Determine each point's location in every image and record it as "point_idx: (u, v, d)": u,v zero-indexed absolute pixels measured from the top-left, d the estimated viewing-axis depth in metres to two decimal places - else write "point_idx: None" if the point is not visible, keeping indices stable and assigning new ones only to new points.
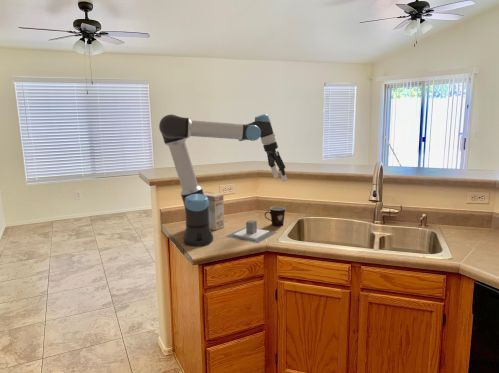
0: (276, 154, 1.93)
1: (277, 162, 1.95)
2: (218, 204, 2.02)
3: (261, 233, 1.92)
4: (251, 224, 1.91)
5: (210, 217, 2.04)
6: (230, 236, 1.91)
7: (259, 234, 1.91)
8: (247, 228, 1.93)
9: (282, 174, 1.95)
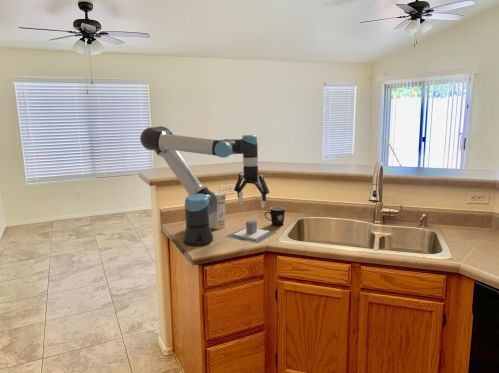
0: (262, 178, 1.84)
1: (259, 186, 1.86)
2: (220, 203, 2.03)
3: (261, 233, 1.92)
4: (251, 224, 1.91)
5: (211, 216, 2.04)
6: (230, 236, 1.91)
7: (259, 234, 1.91)
8: (247, 228, 1.93)
9: (263, 199, 1.86)
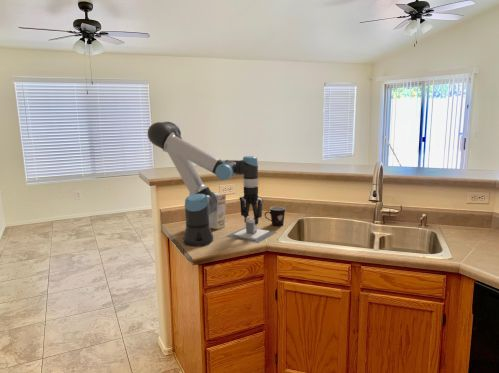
0: (260, 202, 1.87)
1: (255, 209, 1.89)
2: (220, 203, 2.03)
3: (261, 233, 1.92)
4: (251, 224, 1.91)
5: (211, 216, 2.04)
6: (230, 236, 1.91)
7: (259, 234, 1.91)
8: (247, 228, 1.93)
9: (255, 223, 1.91)
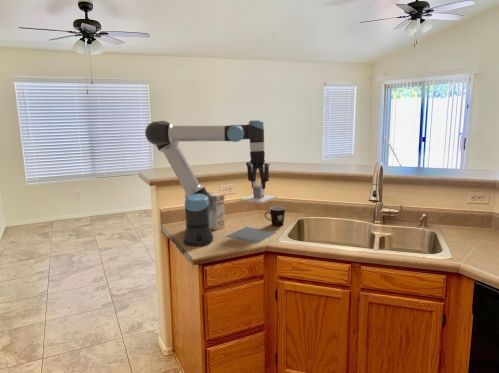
0: (267, 165, 1.88)
1: (262, 173, 1.90)
2: (219, 203, 2.02)
3: (268, 197, 1.93)
4: (258, 188, 1.92)
5: (211, 217, 2.04)
6: (230, 236, 1.91)
7: (266, 198, 1.91)
8: (254, 193, 1.93)
9: (262, 187, 1.91)
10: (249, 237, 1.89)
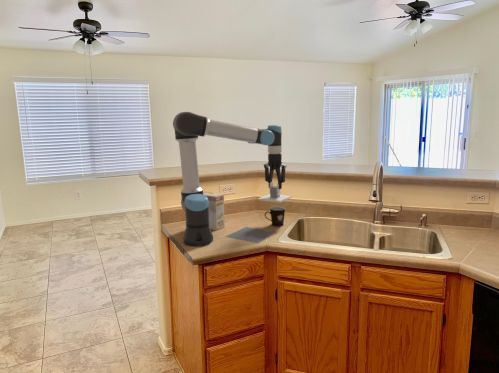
0: (284, 167, 2.01)
1: (279, 175, 2.04)
2: (219, 204, 2.02)
3: (284, 197, 2.06)
4: (275, 189, 2.05)
5: (211, 217, 2.04)
6: (230, 236, 1.91)
7: (282, 198, 2.05)
8: (271, 193, 2.07)
9: (279, 188, 2.05)
10: (249, 237, 1.89)
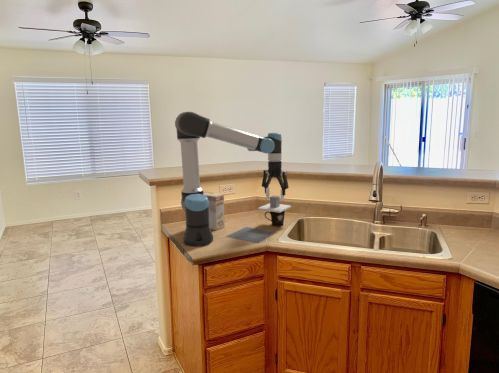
0: (285, 173, 2.02)
1: (281, 181, 2.04)
2: (219, 204, 2.02)
3: (284, 207, 2.08)
4: (275, 198, 2.06)
5: (211, 217, 2.04)
6: (230, 236, 1.91)
7: (282, 208, 2.06)
8: (271, 202, 2.08)
9: (283, 194, 2.04)
10: (249, 237, 1.89)
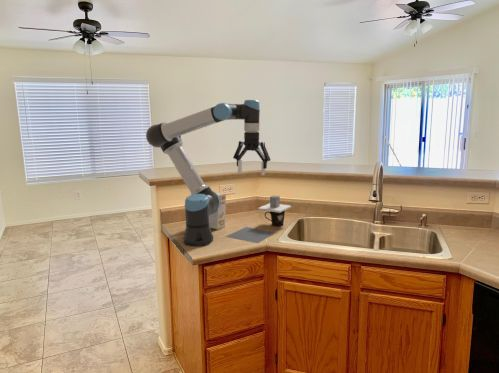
0: (263, 144, 1.80)
1: (260, 153, 1.81)
2: (221, 203, 2.03)
3: (284, 207, 2.08)
4: (275, 198, 2.06)
5: (212, 216, 2.04)
6: (230, 236, 1.91)
7: (282, 208, 2.06)
8: (271, 202, 2.08)
9: (264, 167, 1.81)
10: (249, 237, 1.89)
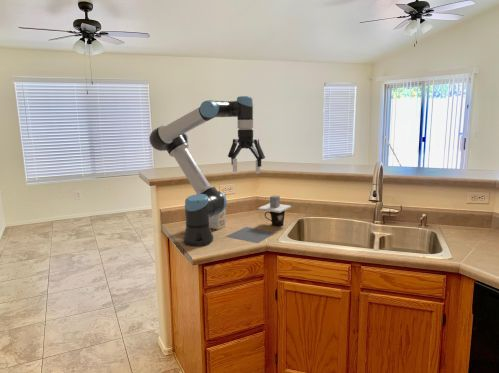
0: (257, 142, 1.74)
1: (254, 151, 1.75)
2: None
3: (284, 207, 2.08)
4: (275, 198, 2.06)
5: (212, 216, 2.04)
6: (230, 236, 1.91)
7: (282, 208, 2.06)
8: (271, 202, 2.08)
9: (258, 165, 1.76)
10: (249, 237, 1.89)
